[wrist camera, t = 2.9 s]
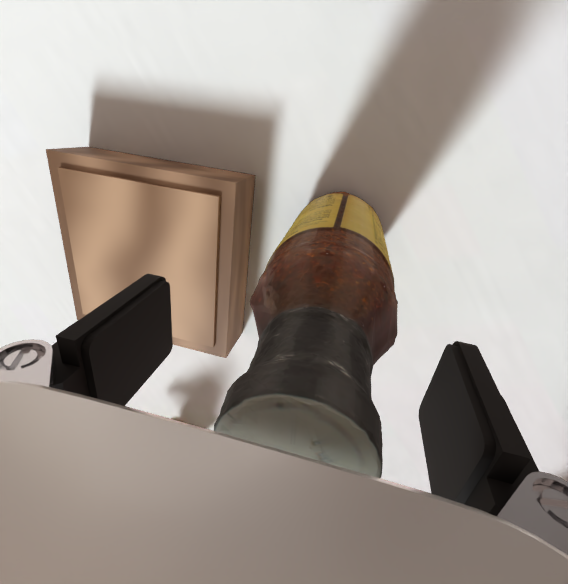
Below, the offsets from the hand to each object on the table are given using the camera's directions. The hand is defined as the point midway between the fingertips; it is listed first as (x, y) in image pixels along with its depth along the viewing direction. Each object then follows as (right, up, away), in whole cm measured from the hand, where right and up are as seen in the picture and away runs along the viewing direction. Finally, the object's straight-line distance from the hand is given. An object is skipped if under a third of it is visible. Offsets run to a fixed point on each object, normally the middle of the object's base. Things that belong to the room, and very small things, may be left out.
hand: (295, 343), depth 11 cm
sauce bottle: (+4, +6, +14) cm, 16 cm away
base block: (-10, +6, +18) cm, 21 cm away
